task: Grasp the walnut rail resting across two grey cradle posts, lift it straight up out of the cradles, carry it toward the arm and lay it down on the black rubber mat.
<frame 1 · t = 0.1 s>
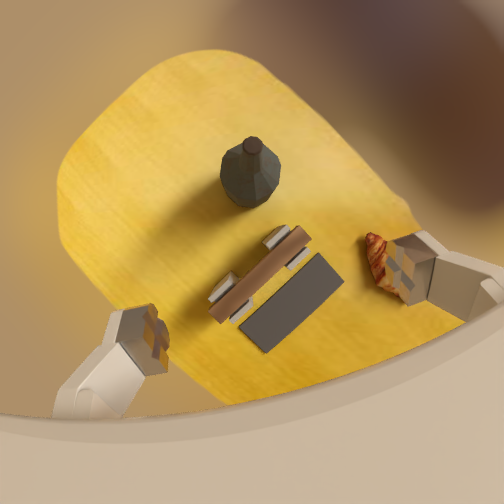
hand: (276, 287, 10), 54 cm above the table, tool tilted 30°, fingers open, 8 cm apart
croissant: (386, 269, 65), on the table
post 1: (280, 244, 64), on the table
post 2: (233, 289, 64), on the table
bottle: (249, 185, 63), on the table
rail: (258, 273, 54), point 10 cm above the table, touching post 2, post 1
mat: (292, 304, 65), on the table
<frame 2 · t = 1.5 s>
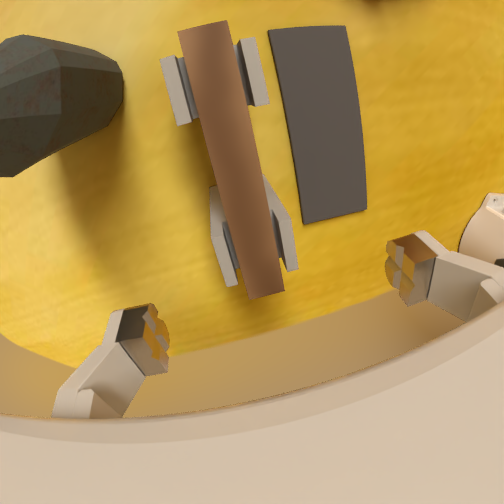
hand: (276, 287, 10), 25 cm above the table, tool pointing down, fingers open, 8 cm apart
post 1: (212, 84, 27), on the table
post 2: (241, 199, 35), on the table
bottle: (85, 93, 25), on the table
rail: (235, 165, 23), point 10 cm above the table, touching post 2, post 1
mat: (325, 124, 31), on the table
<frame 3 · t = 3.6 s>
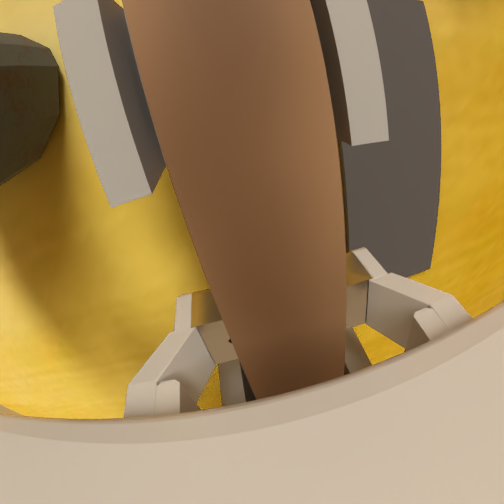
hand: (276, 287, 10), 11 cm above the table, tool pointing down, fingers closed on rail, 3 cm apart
post 1: (213, 77, 15), on the table
post 2: (260, 268, 23), on the table
bottle: (11, 105, 13), on the table
rail: (270, 271, 10), point 10 cm above the table, touching gripper, post 2, post 1
mat: (393, 150, 19), on the table
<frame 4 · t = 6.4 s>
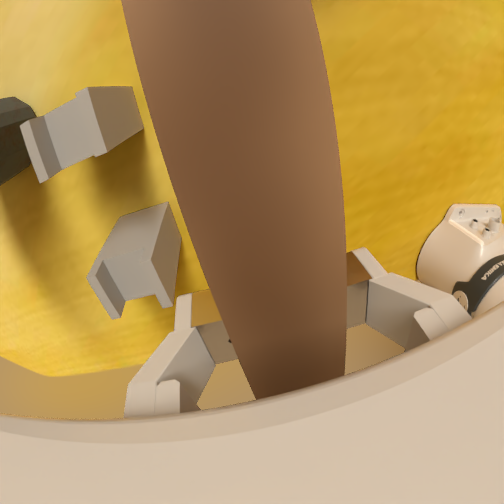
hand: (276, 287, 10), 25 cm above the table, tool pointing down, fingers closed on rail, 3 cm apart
post 1: (111, 117, 27), on the table
post 2: (150, 227, 34), on the table
bottle: (12, 135, 25), on the table
rail: (270, 271, 10), point 24 cm above the table, touching gripper
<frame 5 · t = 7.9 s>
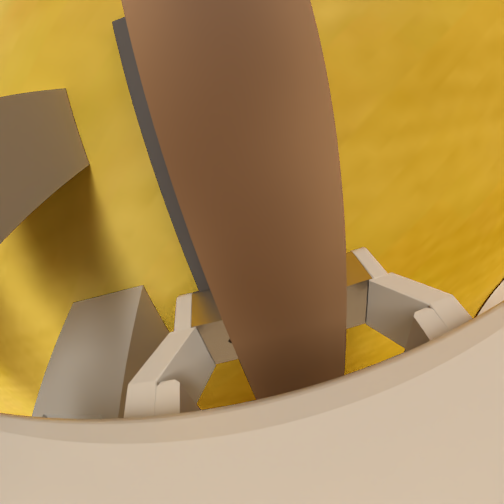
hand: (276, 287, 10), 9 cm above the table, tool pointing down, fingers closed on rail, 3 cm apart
post 1: (36, 147, 13), on the table
post 2: (120, 318, 21), on the table
rail: (270, 270, 10), point 8 cm above the table, touching gripper
mat: (244, 192, 17), on the table
when the fingers open (3 cm above the table, at t = 9.1 s): rail drops 2 cm, resting on mat.
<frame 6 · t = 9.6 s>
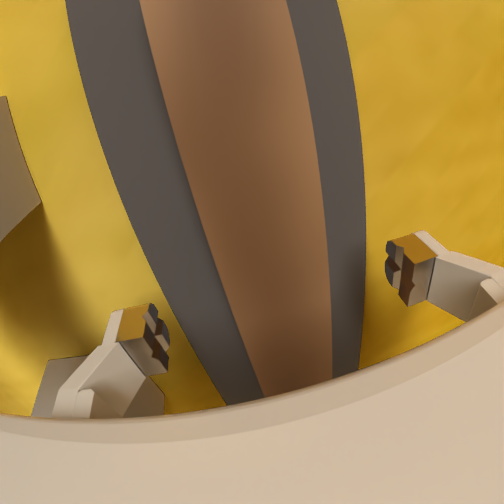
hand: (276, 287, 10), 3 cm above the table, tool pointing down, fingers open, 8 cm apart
post 2: (105, 379, 16), on the table
rail: (264, 247, 12), point 1 cm above the table, touching mat
mat: (259, 240, 12), on the table
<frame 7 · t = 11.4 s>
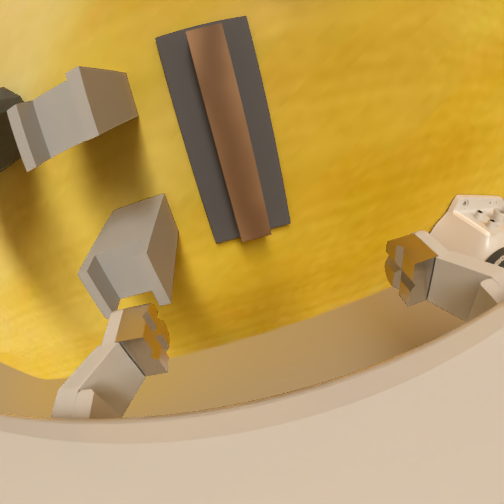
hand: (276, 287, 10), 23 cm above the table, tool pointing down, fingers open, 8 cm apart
post 1: (104, 105, 24), on the table
post 2: (145, 221, 32), on the table
bottle: (2, 128, 22), on the table
rail: (229, 132, 28), point 1 cm above the table, touching mat
mat: (227, 132, 28), on the table
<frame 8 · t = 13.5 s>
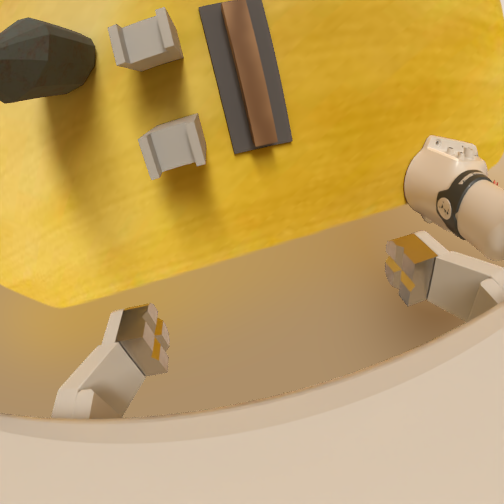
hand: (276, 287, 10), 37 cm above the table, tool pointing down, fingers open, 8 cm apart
post 1: (158, 49, 33), on the table
post 2: (181, 134, 40), on the table
bottle: (69, 63, 31), on the table
rail: (247, 71, 36), point 1 cm above the table, touching mat
mat: (246, 71, 37), on the table
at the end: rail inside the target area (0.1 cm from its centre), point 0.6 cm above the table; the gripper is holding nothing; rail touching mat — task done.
